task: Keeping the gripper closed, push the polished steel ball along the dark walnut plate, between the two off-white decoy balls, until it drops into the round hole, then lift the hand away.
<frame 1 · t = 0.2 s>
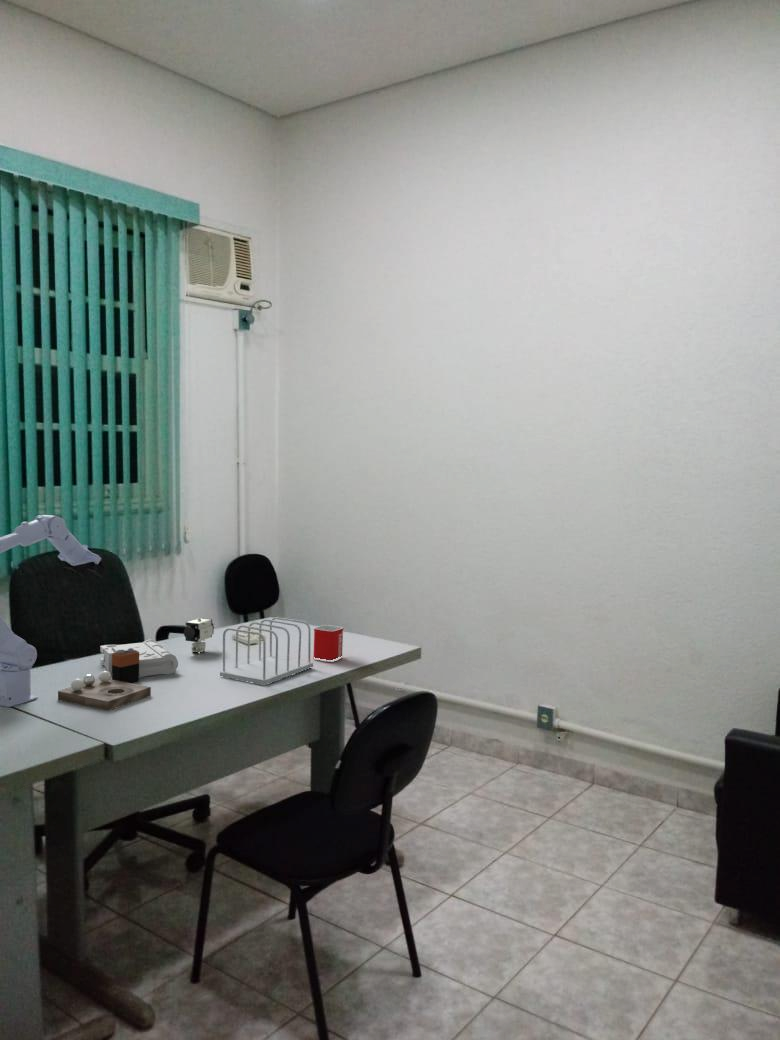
hand: (95, 574, 245), 31 cm above the table, tool tilted 45°, fingers open, 7 cm apart
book: (135, 668, 261), on the table
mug: (330, 658, 280), on the table
battery: (125, 683, 243), on the table
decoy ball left: (77, 684, 225), point 4 cm above the table, touching hole plate
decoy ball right: (105, 676, 234), point 4 cm above the table, touching hole plate
steel ball: (88, 680, 230), point 4 cm above the table, touching hole plate
pneumatic valve: (199, 653, 282), on the table
file sorter: (267, 673, 259), on the table
hole plate: (104, 697, 227), on the table
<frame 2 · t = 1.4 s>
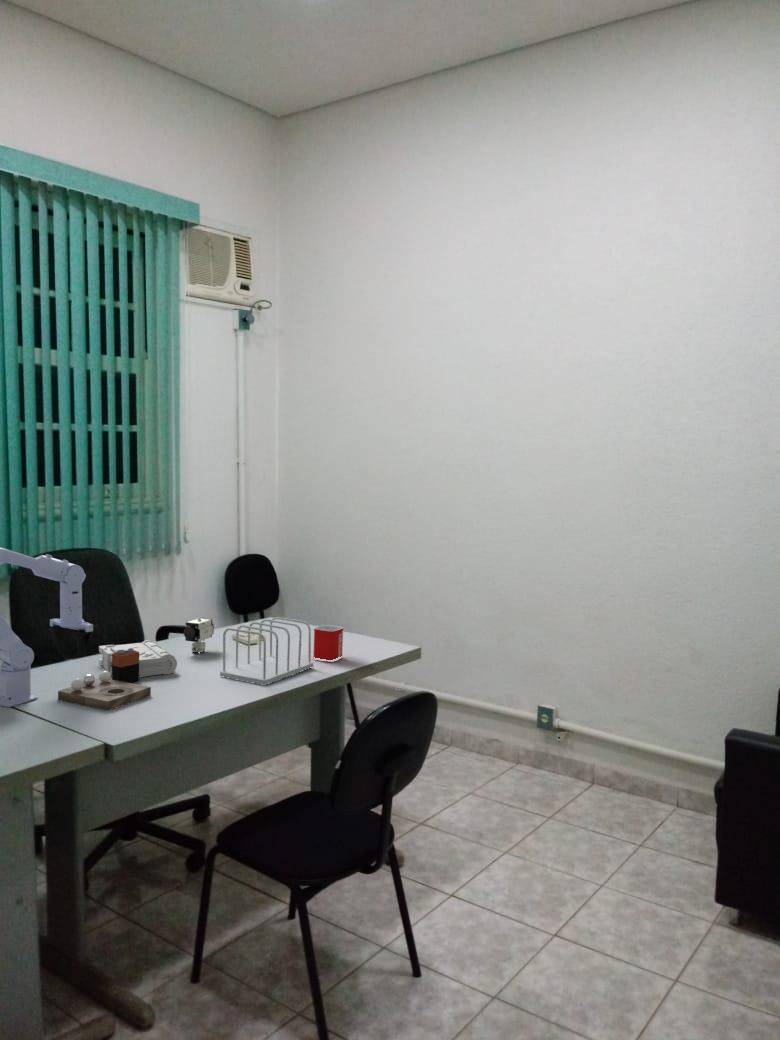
hand: (71, 654, 232), 10 cm above the table, tool pointing down, fingers open, 7 cm apart
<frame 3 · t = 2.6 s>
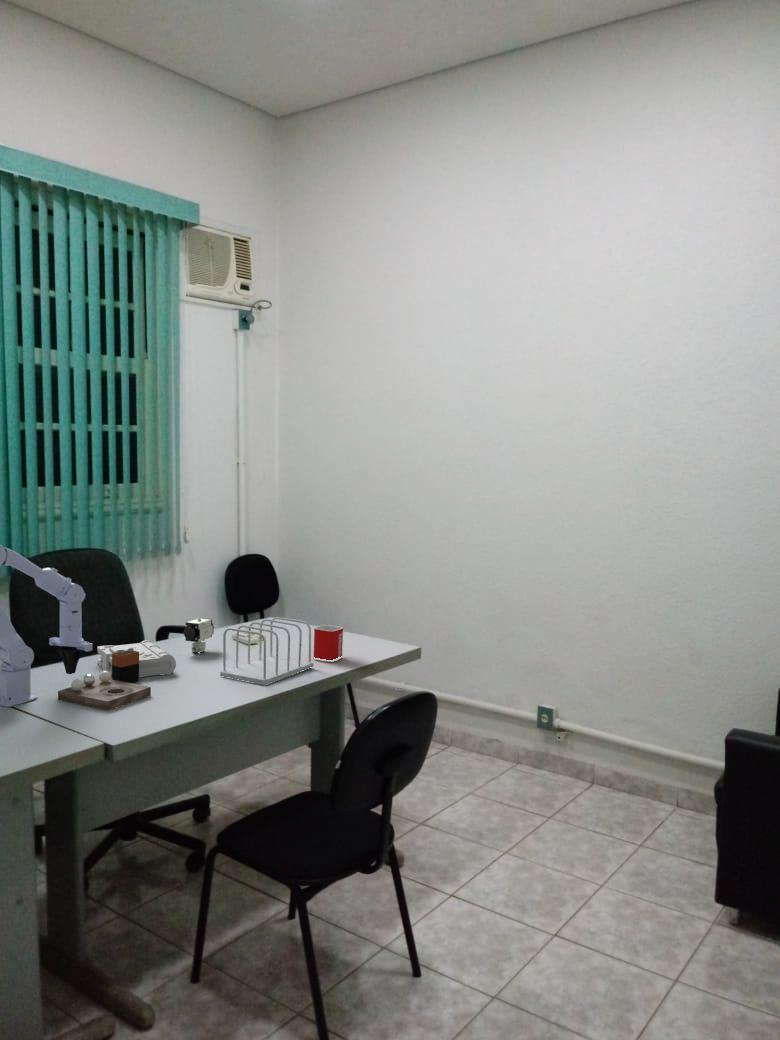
hand: (70, 673, 233), 5 cm above the table, tool pointing down, fingers closed
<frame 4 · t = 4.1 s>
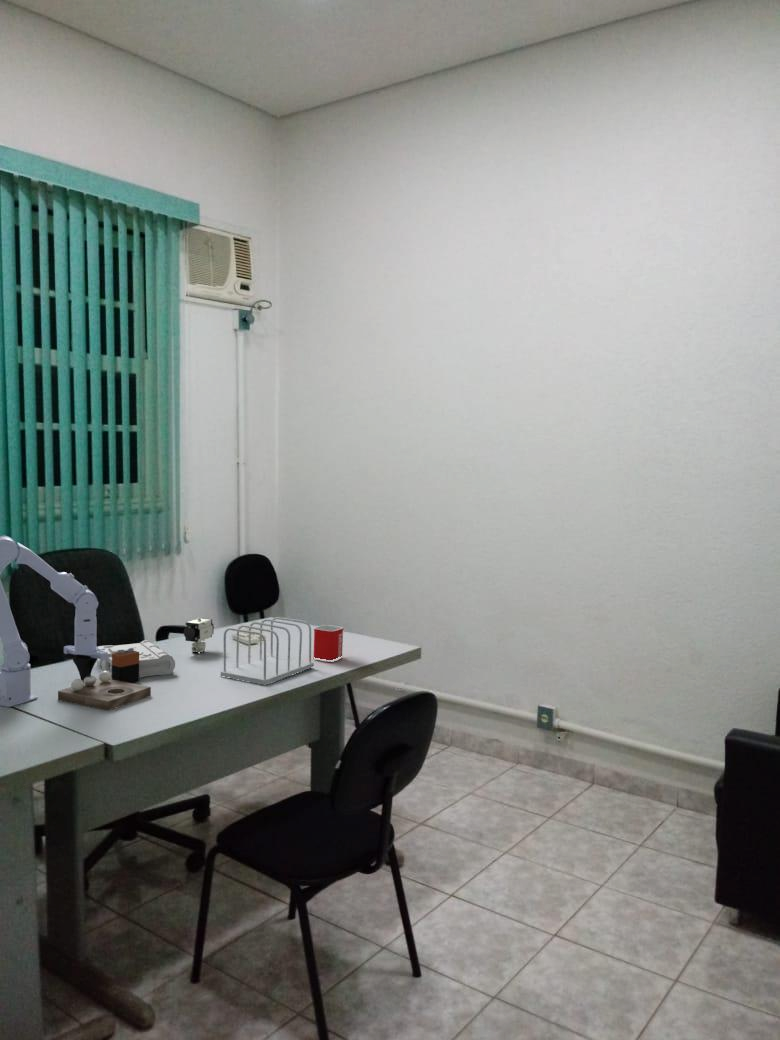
hand: (85, 681, 230), 3 cm above the table, tool pointing down, fingers closed, pressing on steel ball
steel ball: (89, 680, 230), point 4 cm above the table, tilted 12°, touching gripper, hole plate
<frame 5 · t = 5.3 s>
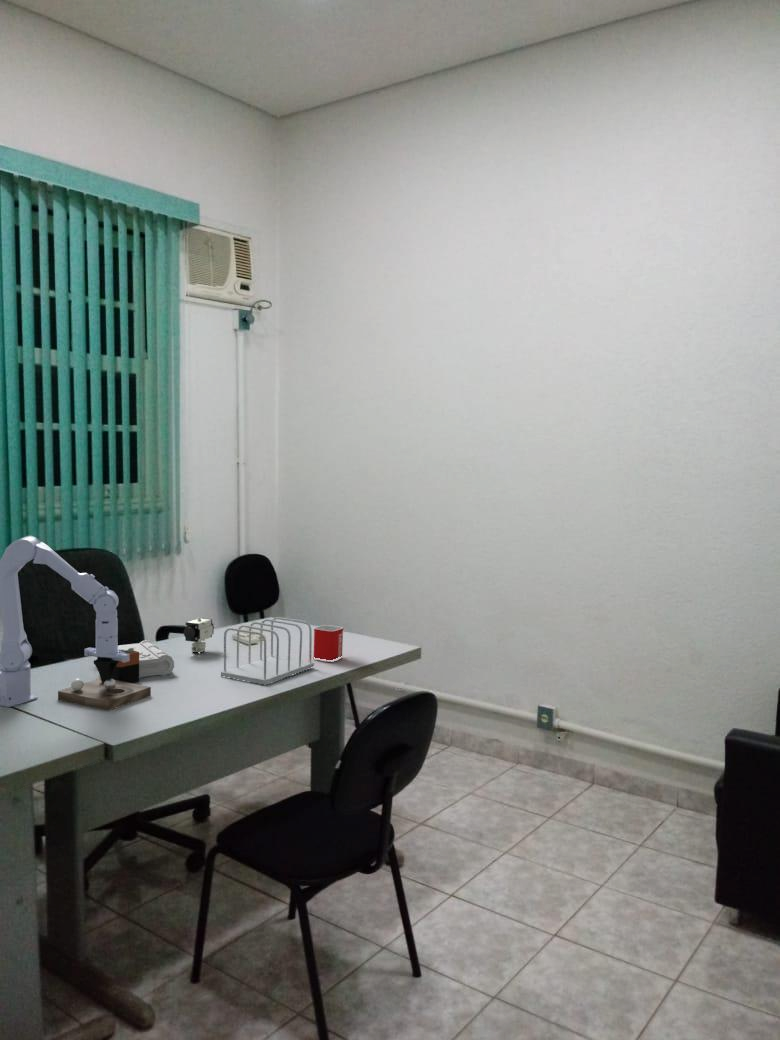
hand: (106, 684, 227), 4 cm above the table, tool pointing down, fingers closed, pressing on steel ball
steel ball: (109, 684, 226), point 4 cm above the table, tilted 84°, touching gripper, hole plate
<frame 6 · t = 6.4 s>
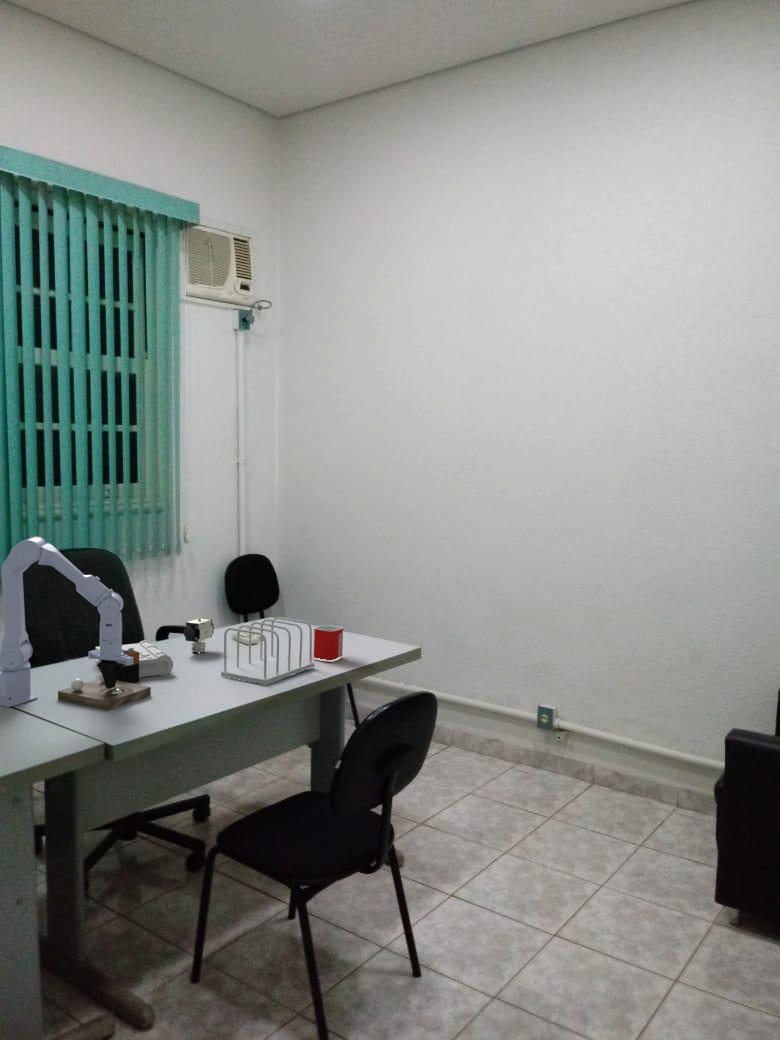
hand: (110, 687, 226), 3 cm above the table, tool pointing down, fingers closed
steel ball: (117, 695, 225), point 2 cm above the table, tilted 57°
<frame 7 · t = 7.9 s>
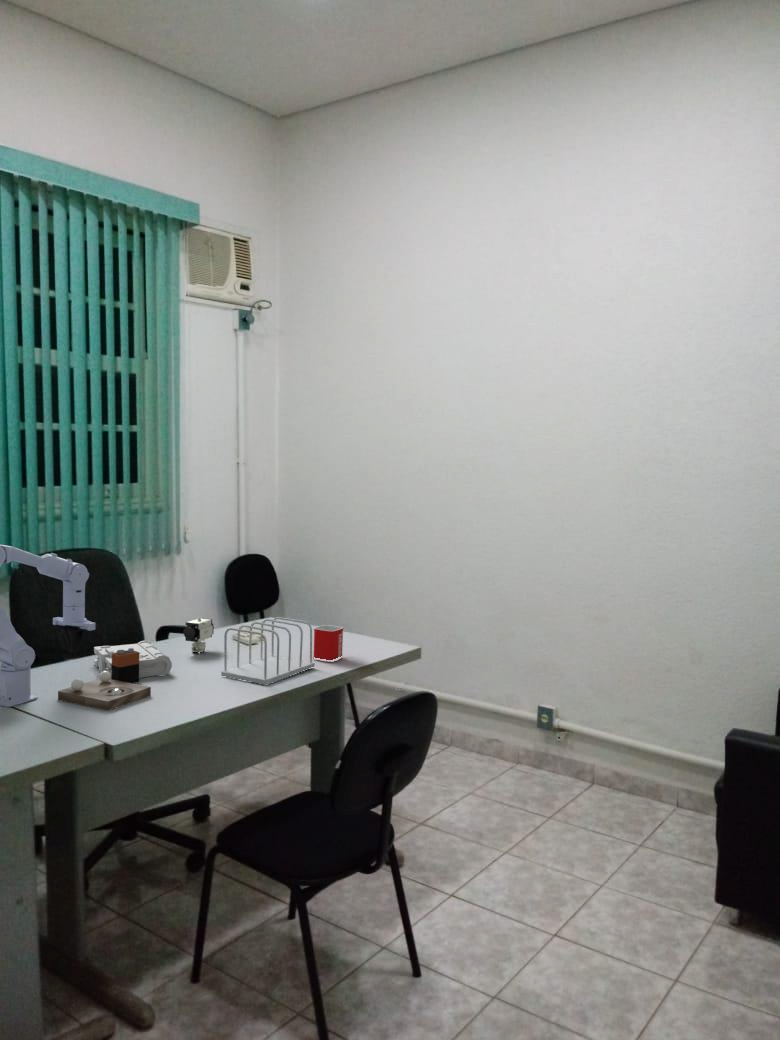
hand: (73, 652, 234), 10 cm above the table, tool pointing down, fingers closed
steel ball: (116, 694, 225), point 2 cm above the table, tilted 48°
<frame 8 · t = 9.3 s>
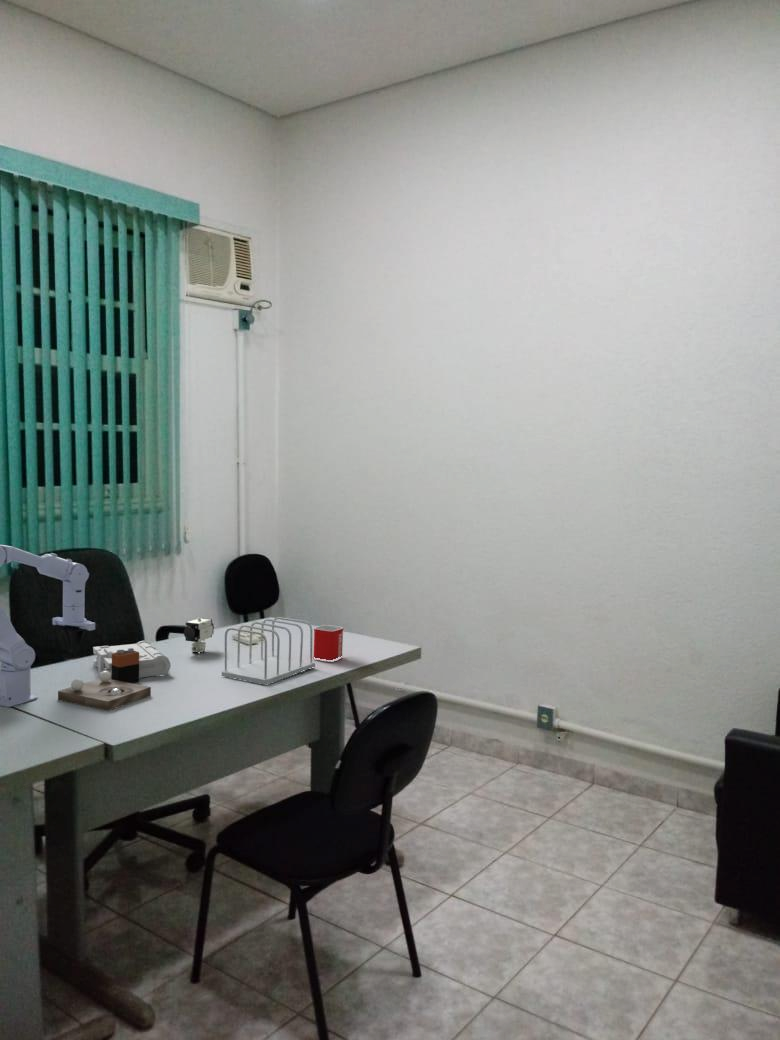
hand: (73, 652, 234), 10 cm above the table, tool pointing down, fingers closed
steel ball: (115, 694, 226), point 2 cm above the table, tilted 41°
at the end: steel ball 0.1 cm from the target spot on the hole plate, point 1.6 cm above the hole plate's base; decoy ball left moved 0.1 cm from its start; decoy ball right moved 0.1 cm from its start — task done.
